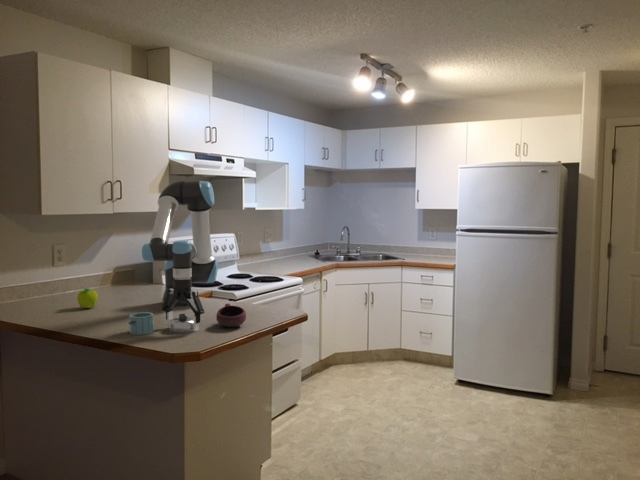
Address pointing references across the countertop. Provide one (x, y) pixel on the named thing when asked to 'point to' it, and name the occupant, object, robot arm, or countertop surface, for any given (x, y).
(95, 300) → the fruit
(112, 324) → the countertop surface
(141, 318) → the pot
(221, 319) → the bowl
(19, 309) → the countertop surface
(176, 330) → the lid
